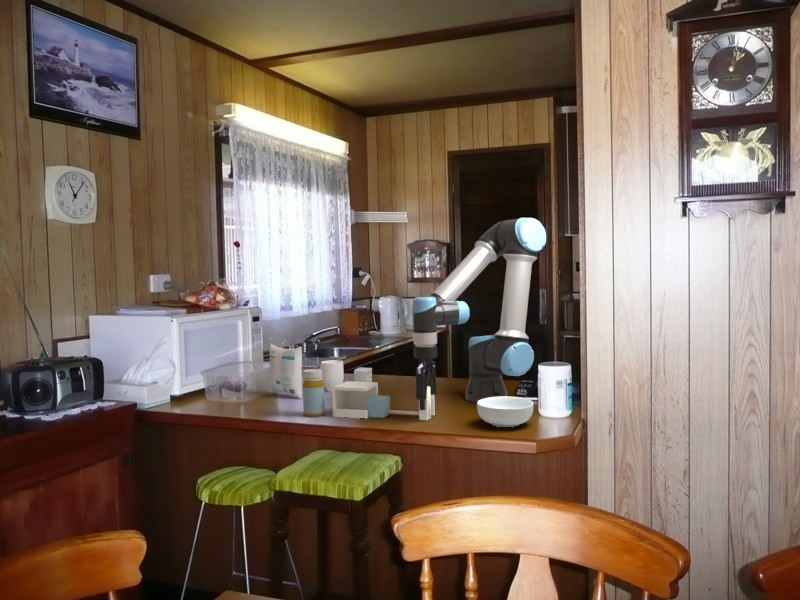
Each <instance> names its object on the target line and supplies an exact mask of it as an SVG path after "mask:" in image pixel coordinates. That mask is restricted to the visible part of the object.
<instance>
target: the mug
mask: <svg viewBox="0 0 800 600" xmlns="http://www.w3.org/2000/svg"><path fill="white" fill-rule="evenodd" d="M318 369H321V370H322V380H323V383H324V388H325V389H326V391H327V392H329V393H332V390H333V387H334V386H336V385H339V384H341V383H344V377H345V375H344V360H340V359H339V360H338V359H335V360H334V359H331V360H323V361H321V362H320V367H319V368H318Z"/></svg>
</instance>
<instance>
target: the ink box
mask: <svg viewBox="0 0 800 600" xmlns="http://www.w3.org/2000/svg"><path fill="white" fill-rule="evenodd" d="M353 382H373V368H372V367H357V368H355V369H354V371H353Z"/></svg>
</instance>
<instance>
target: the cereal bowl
mask: <svg viewBox="0 0 800 600" xmlns="http://www.w3.org/2000/svg"><path fill="white" fill-rule="evenodd" d="M476 409H477V413H478V416H479V417H480V418H481V419H482V420H483V421H484V422H485V423H488V424H491V425H492V426H493V427H495V426H496V428H500V427H512V428H515V427H514V426H517V427H518V426H520V425H521V424H524V423H526V422H527V421H529V420H530V419H531V417H532V416H533V413H534V402H533V401H532V400H531V399H528V398H524V397H519V396H508V395H507V396H500V397H489V398H484V399H481V400H479V401H478V402H476Z"/></svg>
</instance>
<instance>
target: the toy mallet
mask: <svg viewBox="0 0 800 600" xmlns="http://www.w3.org/2000/svg"><path fill="white" fill-rule="evenodd" d="M390 396H391V395H383V394H382V395H381V394H380V395H379V394H378V395H372V396H370V397H368V398H366V410H368V418H381V419H384V418H386V417H387V416H389V415H390V414H391V415H410V416H419V410H417V411H416V410H401V409H399V410H397V409H391V397H390ZM426 399H428V420H430V419H432V415H431V392H430V386H427V398H426Z"/></svg>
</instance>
